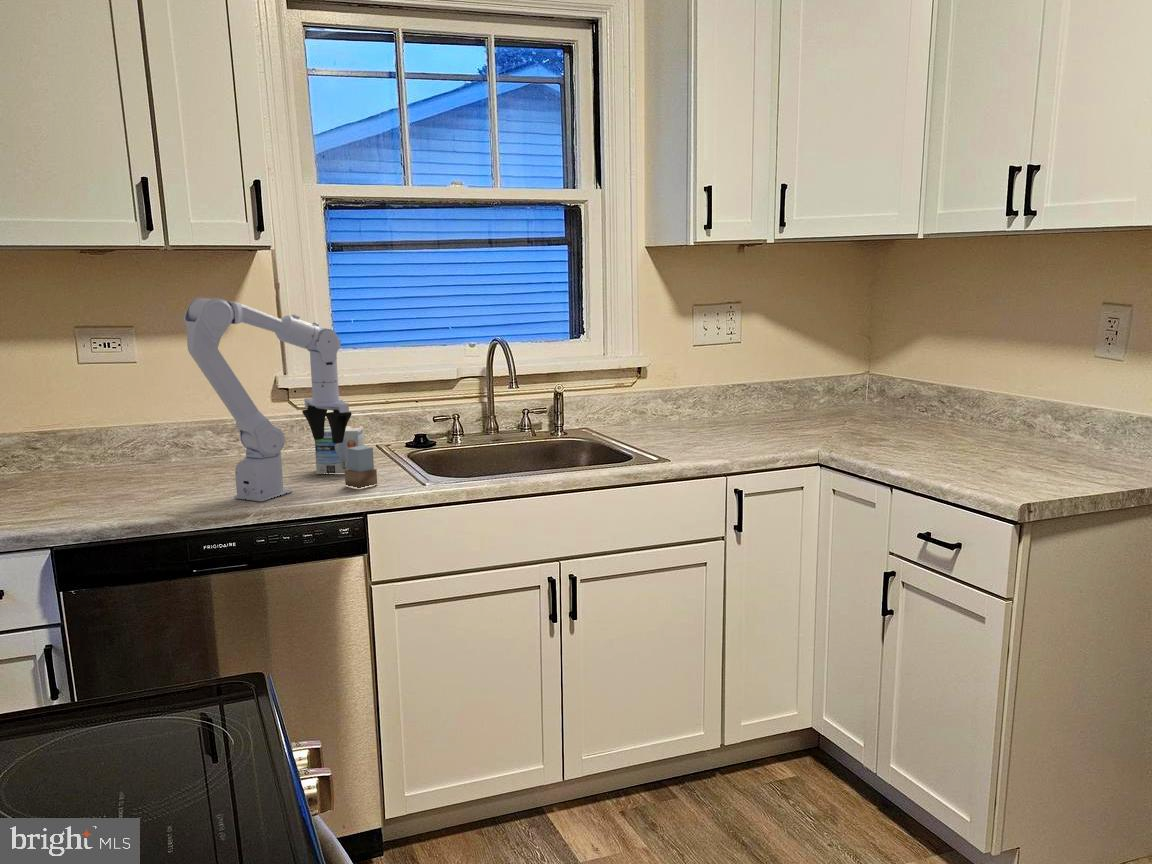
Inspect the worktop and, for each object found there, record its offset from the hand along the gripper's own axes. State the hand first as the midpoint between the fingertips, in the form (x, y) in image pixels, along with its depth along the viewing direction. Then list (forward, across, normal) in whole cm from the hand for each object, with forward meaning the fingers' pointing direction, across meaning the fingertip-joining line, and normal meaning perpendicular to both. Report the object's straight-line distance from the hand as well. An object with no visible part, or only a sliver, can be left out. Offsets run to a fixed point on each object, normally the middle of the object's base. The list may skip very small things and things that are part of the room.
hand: (328, 441), depth 203 cm
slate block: (+6, -8, -3) cm, 10 cm away
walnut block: (+10, -8, -3) cm, 13 cm away
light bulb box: (+10, +9, -9) cm, 16 cm away
